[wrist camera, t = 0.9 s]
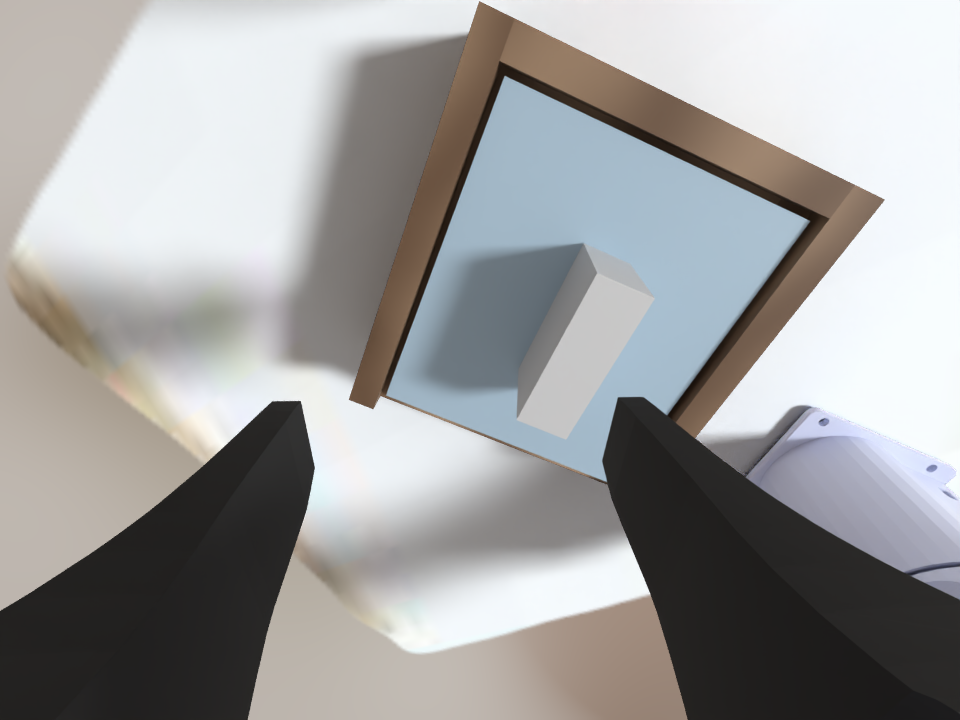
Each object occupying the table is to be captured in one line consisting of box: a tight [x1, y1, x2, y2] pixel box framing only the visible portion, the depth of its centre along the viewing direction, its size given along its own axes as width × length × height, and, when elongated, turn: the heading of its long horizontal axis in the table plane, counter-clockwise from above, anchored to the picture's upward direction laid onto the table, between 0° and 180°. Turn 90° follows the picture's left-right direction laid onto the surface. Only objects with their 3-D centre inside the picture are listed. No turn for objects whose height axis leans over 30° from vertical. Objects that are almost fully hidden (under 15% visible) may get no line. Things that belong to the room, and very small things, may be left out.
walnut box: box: [349, 1, 884, 485], centre depth 21 cm, size 15×16×5 cm
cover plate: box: [386, 76, 810, 482], centre depth 18 cm, size 12×14×5 cm
